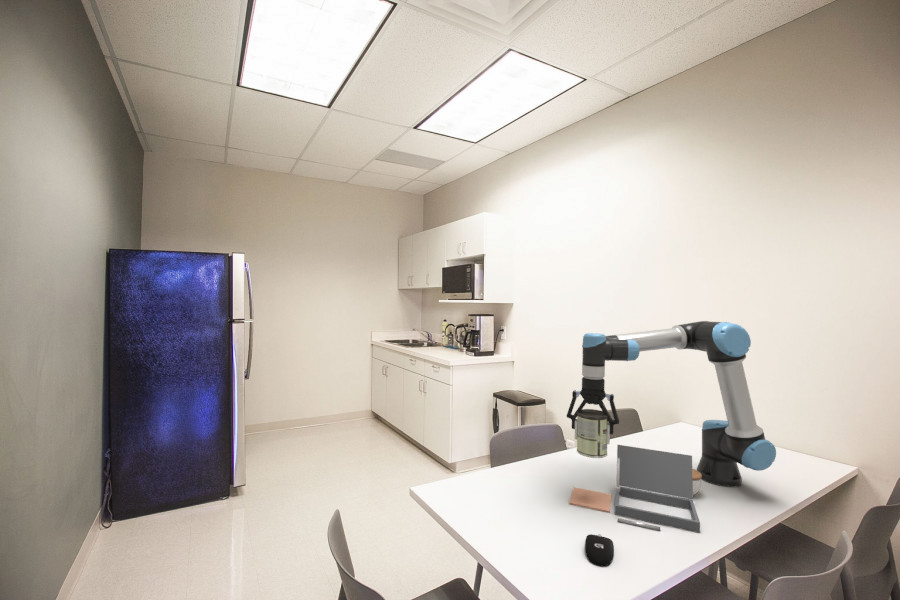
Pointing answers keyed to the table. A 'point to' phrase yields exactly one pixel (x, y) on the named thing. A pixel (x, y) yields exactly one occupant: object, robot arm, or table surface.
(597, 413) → the coffee can
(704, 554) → the table surface
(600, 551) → the computer mouse
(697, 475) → the lidded jar
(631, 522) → the rod
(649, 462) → the case
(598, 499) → the pad
